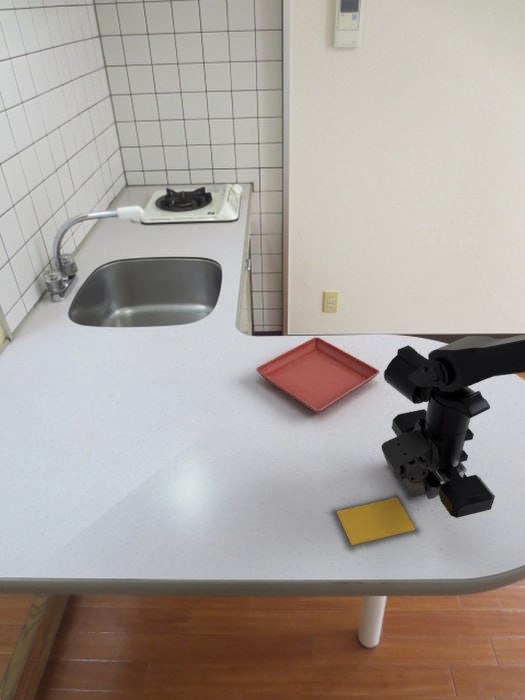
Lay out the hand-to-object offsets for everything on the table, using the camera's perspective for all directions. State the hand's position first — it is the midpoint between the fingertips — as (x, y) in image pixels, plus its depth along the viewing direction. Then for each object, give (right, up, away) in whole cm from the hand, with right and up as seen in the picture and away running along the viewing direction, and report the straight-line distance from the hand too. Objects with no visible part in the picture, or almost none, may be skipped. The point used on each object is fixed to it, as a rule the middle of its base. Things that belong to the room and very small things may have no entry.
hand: (430, 497), depth 81 cm
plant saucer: (-15, +16, +26) cm, 34 cm away
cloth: (-9, -3, -2) cm, 10 cm away
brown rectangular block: (-1, +2, +5) cm, 5 cm away
